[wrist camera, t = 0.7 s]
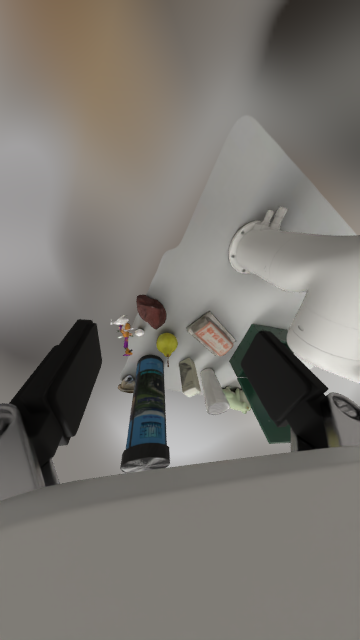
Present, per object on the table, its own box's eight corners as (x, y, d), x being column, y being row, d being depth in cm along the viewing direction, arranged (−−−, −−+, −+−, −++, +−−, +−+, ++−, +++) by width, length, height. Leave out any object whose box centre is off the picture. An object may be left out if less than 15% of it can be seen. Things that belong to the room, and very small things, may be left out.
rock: (143, 289, 46) (131, 310, 48) (137, 292, 40) (123, 317, 42) (173, 308, 48) (160, 328, 50) (172, 314, 42) (157, 336, 44)
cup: (199, 380, 70) (208, 417, 57) (195, 369, 66) (204, 406, 53) (217, 375, 70) (231, 411, 57) (214, 363, 65) (228, 399, 52)
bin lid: (270, 442, 41) (269, 443, 42) (314, 440, 45) (312, 441, 46) (238, 377, 58) (237, 378, 59) (271, 379, 62) (270, 380, 62)
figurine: (242, 397, 83) (251, 417, 75) (214, 396, 80) (220, 417, 72) (250, 386, 78) (261, 406, 70) (221, 385, 75) (228, 406, 66)
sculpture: (140, 385, 67) (142, 372, 65) (135, 398, 59) (137, 384, 58) (121, 382, 66) (123, 369, 65) (114, 395, 59) (115, 381, 57)
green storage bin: (252, 323, 55) (264, 337, 49) (286, 329, 59) (302, 343, 53) (229, 361, 65) (237, 377, 59) (259, 364, 69) (270, 379, 63)
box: (189, 356, 61) (195, 386, 50) (194, 362, 63) (202, 392, 52) (177, 362, 62) (182, 393, 51) (183, 368, 64) (188, 398, 54)
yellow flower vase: (158, 326, 51) (159, 353, 41) (178, 329, 53) (183, 355, 43) (155, 342, 55) (154, 370, 45) (173, 344, 56) (177, 371, 46)
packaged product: (187, 336, 49) (213, 318, 46) (185, 327, 53) (208, 309, 50) (218, 362, 57) (241, 348, 54) (214, 353, 61) (235, 339, 58)
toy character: (123, 358, 50) (119, 323, 53) (148, 352, 50) (143, 317, 53) (105, 357, 40) (102, 314, 44) (136, 350, 40) (131, 308, 43)
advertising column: (141, 375, 64) (130, 476, 39) (131, 357, 57) (111, 464, 32) (167, 369, 64) (174, 467, 39) (161, 351, 57) (164, 453, 32)
